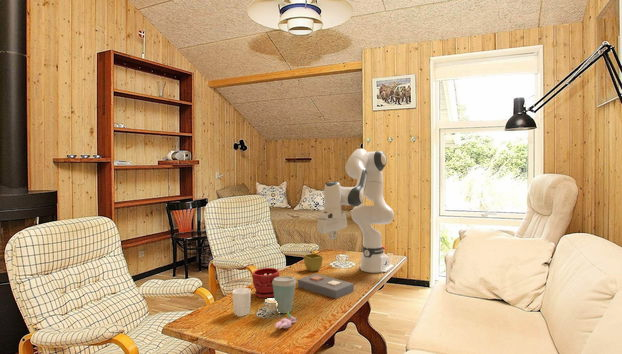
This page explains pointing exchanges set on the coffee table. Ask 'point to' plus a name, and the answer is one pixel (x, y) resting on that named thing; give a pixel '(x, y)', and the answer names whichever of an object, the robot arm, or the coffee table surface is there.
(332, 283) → the cream key
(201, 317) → the coffee table surface
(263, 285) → the plant pot
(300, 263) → the coffee table surface
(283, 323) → the pink flower
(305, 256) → the flower pot
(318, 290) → the key panel
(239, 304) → the white cup
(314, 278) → the terracotta key
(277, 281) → the disposable coffee cup
